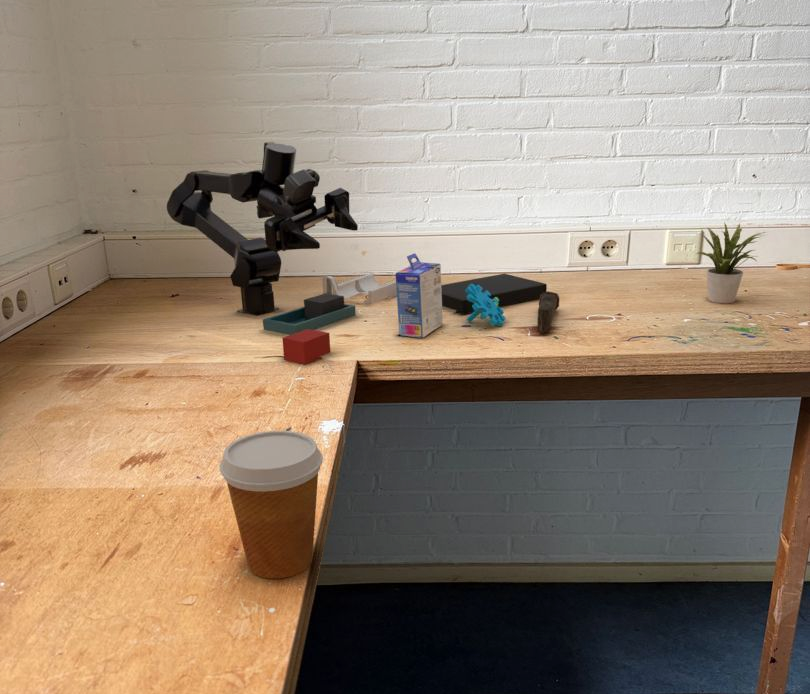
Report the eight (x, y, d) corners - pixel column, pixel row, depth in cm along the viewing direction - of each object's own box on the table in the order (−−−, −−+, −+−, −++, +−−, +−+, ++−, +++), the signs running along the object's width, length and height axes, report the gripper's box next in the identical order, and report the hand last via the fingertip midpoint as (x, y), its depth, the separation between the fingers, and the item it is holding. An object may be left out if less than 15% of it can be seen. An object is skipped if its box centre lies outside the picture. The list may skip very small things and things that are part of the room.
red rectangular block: (283, 359, 137) (282, 337, 136) (309, 350, 142) (308, 328, 141) (305, 364, 135) (303, 342, 133) (330, 354, 140) (329, 332, 138)
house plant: (763, 312, 159) (774, 230, 153) (689, 308, 163) (697, 227, 157) (758, 295, 171) (768, 219, 166) (689, 292, 176) (697, 217, 170)
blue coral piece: (494, 324, 149) (462, 283, 151) (472, 343, 152) (441, 302, 154) (517, 318, 158) (487, 279, 160) (496, 336, 161) (467, 298, 163)
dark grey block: (305, 319, 160) (303, 299, 159) (326, 312, 165) (325, 293, 164) (323, 322, 158) (322, 302, 156) (344, 315, 162) (343, 296, 161)
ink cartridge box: (417, 322, 158) (416, 249, 153) (443, 325, 156) (442, 251, 151) (396, 335, 150) (394, 259, 145) (423, 338, 147) (421, 261, 142)
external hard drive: (422, 301, 174) (422, 288, 173) (503, 286, 186) (503, 273, 185) (463, 314, 162) (463, 300, 161) (546, 297, 175) (547, 283, 174)
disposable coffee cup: (211, 578, 75) (197, 463, 71) (262, 529, 84) (252, 423, 80) (300, 597, 72) (291, 478, 68) (345, 544, 80) (339, 435, 76)
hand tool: (539, 309, 165) (540, 287, 164) (559, 310, 164) (559, 288, 163) (527, 335, 148) (528, 310, 147) (549, 336, 147) (550, 311, 145)
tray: (263, 331, 154) (262, 319, 153) (324, 311, 168) (323, 300, 167) (295, 338, 149) (294, 325, 149) (356, 317, 163) (355, 305, 162)
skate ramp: (372, 305, 171) (371, 282, 170) (323, 298, 178) (322, 276, 176) (409, 291, 183) (408, 269, 182) (361, 285, 190) (361, 264, 188)
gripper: (240, 182, 143) (295, 215, 135) (319, 150, 153) (375, 180, 145) (246, 235, 150) (299, 270, 142) (321, 202, 160) (375, 233, 152)
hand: (338, 236), depth 145 cm, fingers open, 9 cm apart
